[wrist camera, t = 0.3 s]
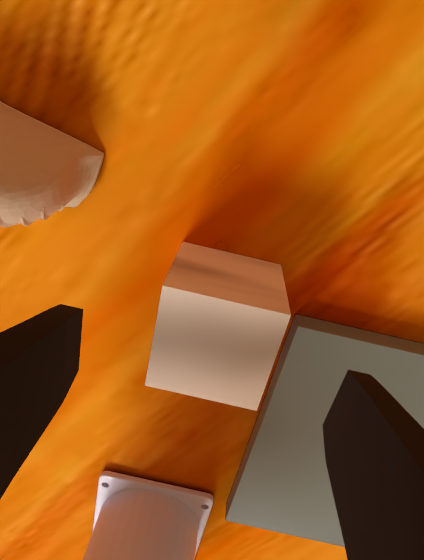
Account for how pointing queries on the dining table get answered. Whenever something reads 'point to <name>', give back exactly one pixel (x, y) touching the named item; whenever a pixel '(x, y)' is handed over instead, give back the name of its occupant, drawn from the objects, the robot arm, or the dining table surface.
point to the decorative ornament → (41, 169)
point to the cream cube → (218, 326)
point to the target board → (314, 424)
